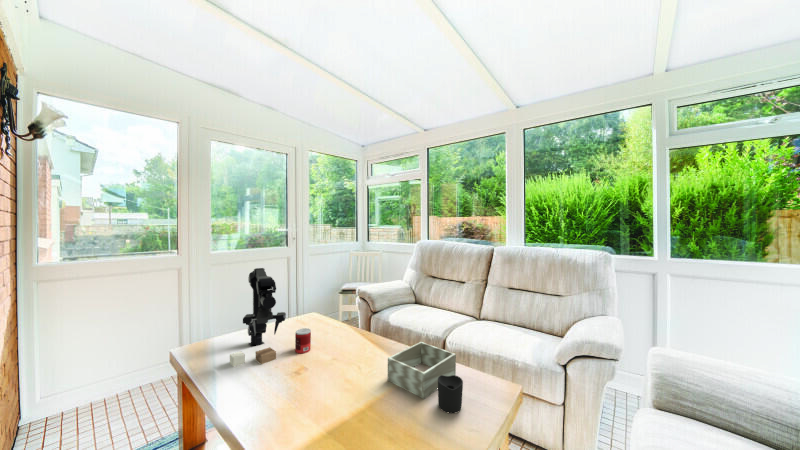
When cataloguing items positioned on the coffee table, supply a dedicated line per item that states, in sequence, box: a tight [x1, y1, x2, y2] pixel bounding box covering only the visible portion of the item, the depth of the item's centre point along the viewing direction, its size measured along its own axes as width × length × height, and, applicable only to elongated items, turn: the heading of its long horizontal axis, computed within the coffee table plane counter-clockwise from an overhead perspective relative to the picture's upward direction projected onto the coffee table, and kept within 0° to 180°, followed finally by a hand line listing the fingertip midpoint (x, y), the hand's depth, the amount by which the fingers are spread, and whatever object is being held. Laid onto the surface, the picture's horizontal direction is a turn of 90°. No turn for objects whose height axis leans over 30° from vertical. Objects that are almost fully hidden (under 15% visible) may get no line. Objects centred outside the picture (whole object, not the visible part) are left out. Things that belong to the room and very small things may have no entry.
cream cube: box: [229, 351, 246, 368], centre depth 141 cm, size 5×5×5 cm
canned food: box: [294, 327, 312, 355], centre depth 156 cm, size 8×8×11 cm
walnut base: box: [255, 347, 277, 365], centre depth 146 cm, size 7×7×4 cm
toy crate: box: [387, 341, 457, 400], centre depth 131 cm, size 20×24×10 cm
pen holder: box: [437, 374, 464, 414], centre depth 111 cm, size 9×9×10 cm
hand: (264, 334), depth 144 cm, fingers open, 9 cm apart
